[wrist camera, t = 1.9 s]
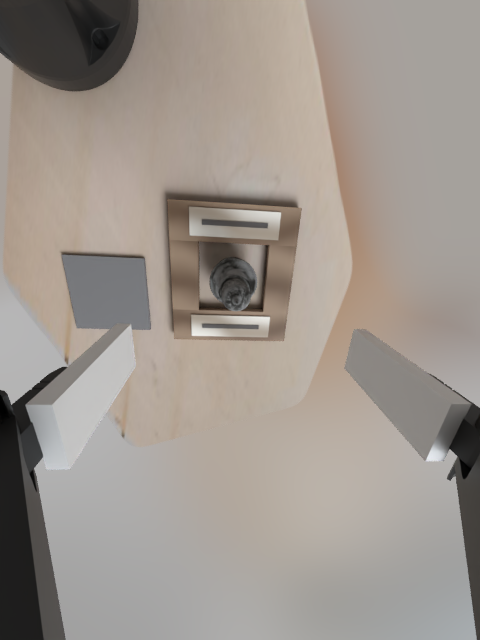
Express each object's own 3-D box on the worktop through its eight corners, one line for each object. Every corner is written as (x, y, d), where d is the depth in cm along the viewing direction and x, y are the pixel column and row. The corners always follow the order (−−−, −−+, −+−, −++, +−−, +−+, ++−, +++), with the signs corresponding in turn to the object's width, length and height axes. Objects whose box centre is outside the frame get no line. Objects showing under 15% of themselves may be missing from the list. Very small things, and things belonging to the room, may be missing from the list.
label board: (169, 200, 29) (166, 198, 27) (298, 208, 30) (302, 207, 29) (175, 335, 35) (173, 339, 34) (282, 337, 36) (284, 342, 35)
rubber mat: (63, 254, 30) (61, 254, 30) (144, 258, 31) (143, 258, 31) (78, 327, 34) (77, 328, 33) (151, 328, 35) (150, 329, 34)
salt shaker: (204, 263, 32) (194, 283, 21) (246, 248, 31) (259, 261, 20) (219, 303, 34) (217, 340, 23) (258, 289, 34) (276, 321, 22)
